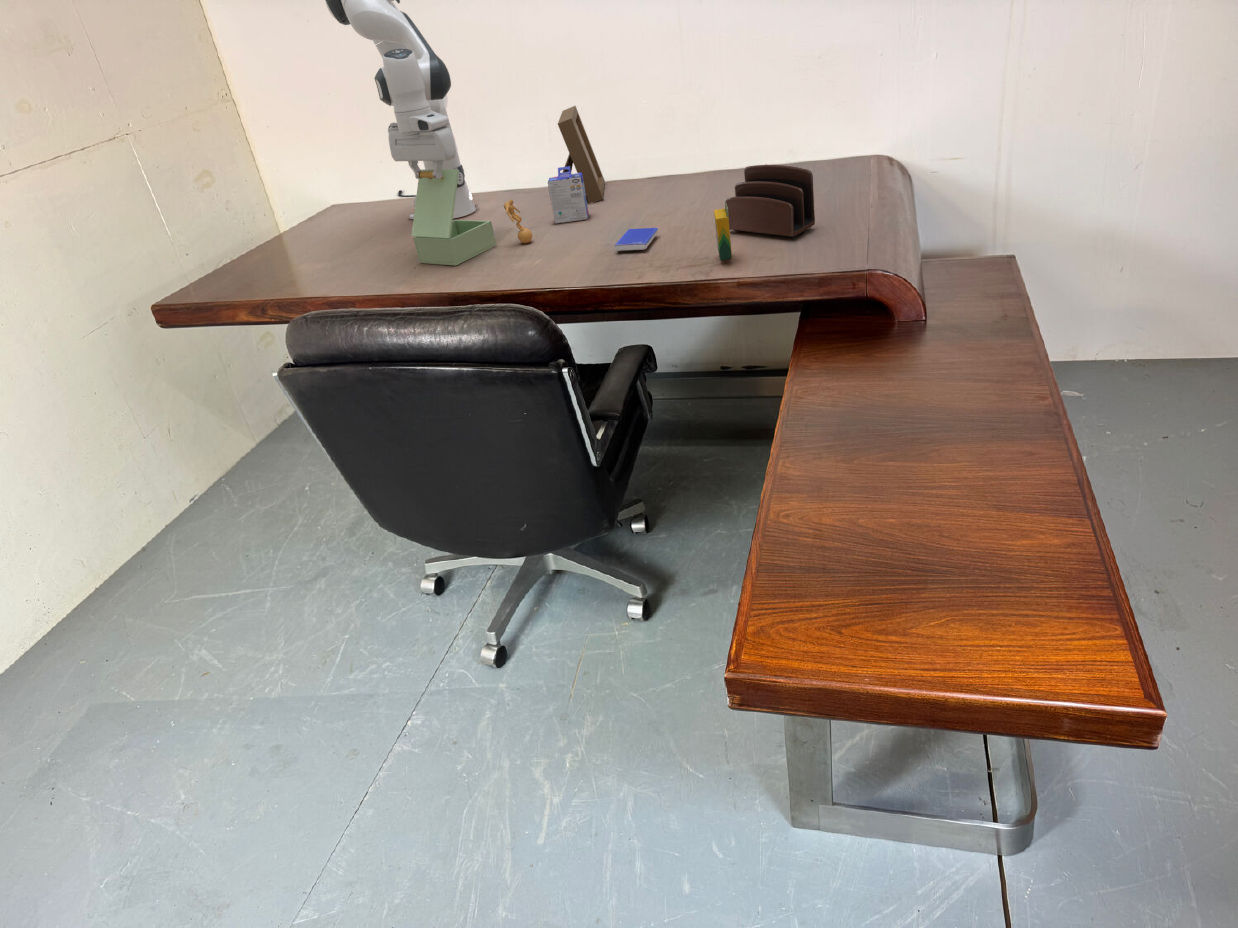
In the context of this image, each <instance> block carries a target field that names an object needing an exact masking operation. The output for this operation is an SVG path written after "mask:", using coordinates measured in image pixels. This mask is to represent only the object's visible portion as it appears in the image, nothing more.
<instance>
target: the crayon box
mask: <svg viewBox="0 0 1238 928" xmlns="http://www.w3.org/2000/svg"><path fill="white" fill-rule="evenodd" d="M725 206H726V208H725ZM713 215H714V216H713V217H714V223H715V224H714V225H715V235H716V236H715V237H716V246H717V252H718V257H719V261H727V260H732V259H733V250H732V241H731V231H730V228H729V215H728V207H727V204H726V200H724V208H718V209H714V210H713Z"/></svg>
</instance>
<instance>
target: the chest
mask: <svg viewBox="0 0 1238 928" xmlns="http://www.w3.org/2000/svg"><path fill="white" fill-rule="evenodd" d="M495 236H496V235H495V231H494V227H493V223H492V220H479V219H477V220H475V219H473V220H472V219H453V222H452V230H451V238H450V239H448V238H428V237H412V239H413V243H414V247H415V251H416V254H417V258H418V263H419V264H430V265H445V266H458V265H460V264H462V263H465V262H466V261H468V260H470V259H472V258H474V257H476V256H478V255H481V254H482V253H484V252H486V251H488V250H490V249H492V248H495V247H496V246H497V241H496V237H495Z"/></svg>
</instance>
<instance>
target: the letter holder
mask: <svg viewBox="0 0 1238 928" xmlns="http://www.w3.org/2000/svg"><path fill="white" fill-rule="evenodd" d="M743 174H744V181H742V182H741V181H740V182H737V183H736V184H734V185H735V186H734V195H735V196H732V197H728V198H726V199H725V201H726V204H727V207H728V215H729V228H730V230H731V231H738V232H739V231H740V232H746V233H756V234H762V235H763V234H764V235H772V236H781V237H788V238H794V237H796V236H798V235H799V234H801V233H803V232H805V231H806V230H809V229H810V228H811V227H813V226H815V223H816V216H815V196H814V195H815V194H814V175H813V172H812V171H811V170H809V169H806V168H802V167H797V166H791V165H783V164H757V165H755V164H754V165H748V166H745V168H744V169H743ZM725 208H726V206H725V205H724V209H725Z"/></svg>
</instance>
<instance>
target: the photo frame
mask: <svg viewBox="0 0 1238 928" xmlns="http://www.w3.org/2000/svg"><path fill="white" fill-rule="evenodd" d="M557 126H558V129H559V131H560V133H561V136H562V139H563V141H564V144H565V146H566V149H567V151H568V156H567V158H566V162H565V163H564V167H568V166H570V170H571V172H572V171H573V166H574V169H575V171H576V173H582V175H583V181H584V187H585V193H586V199H587V200H588V203H589V204H592V203H593V204H594V203H596V202H599V201H601V200H603V199H604V192H605V184H606V180H605V177H604V175H603V173H602V172H603V171H602V170H601V167H600V164H599V163H598V160H597V157H596V155H595V152H594V149H593V147H592V145H591V142H590V139H589V136H588V134H587V132H586V128H585V126H584V124H583V121H582V118H581V116H580V113H579V111H578V109H577V106H576V105H573V106H571V107H567V108H565V109H563V110H562V111H561V113H560V117H559V119H558V122H557ZM568 171H569V170H566V169H564V170H562V171H561V173H563V172H568Z"/></svg>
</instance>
